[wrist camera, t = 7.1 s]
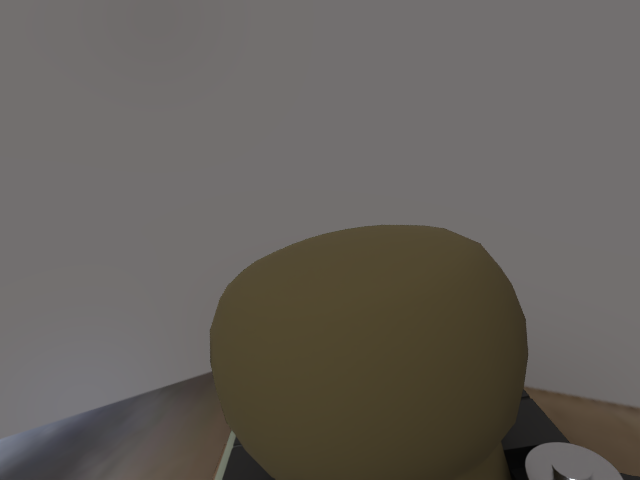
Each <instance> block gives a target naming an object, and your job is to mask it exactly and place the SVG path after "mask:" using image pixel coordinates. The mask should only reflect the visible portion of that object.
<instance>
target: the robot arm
mask: <svg viewBox="0 0 640 480" xmlns="http://www.w3.org/2000/svg"><path fill="white" fill-rule="evenodd" d="M501 443H502V447H503V451H504V455H505V458H506V461H507V464H508V468H509V472H510V475H511V479H512V480H640V477H638V476H631V475H627V474H623V473H619V472H618V471H617V470H616V468H615V467H614V466H613V465H612V464H611V463H609V462H608V461H607V460H606V459H604V458H603V457H601V456H600V455H598V454H597V453H595V452H593V451H591V450H589V449H586V448H584V447H581V446H577V445H574V444H571V443H570V442H569V441H568V440H567V439H566V438H565V436H564V435H563V434H562V433H561V432H560V431H559V430H558V428H557V427H556V426H555V425H554V424H553V423H552V421H551V420H550V419H549V418H548V417H547V416H546V415H545V413H544V412H543V411H542V410H541V409H540V408H539V406H538V405H537V404H536V403H535V402H534V401H533V399H530V397H529V395H528V394H527V393H526V391H525V390H524V389H523V392H522V397H521V401H520V405H519V409H518V414H517V418H516V422H515V424H514V425H513V426H512V427H511V429H510V430H509V431H508V433H507V434H506V435H505V436H504V438H503V439H502V440H501ZM222 480H275V478H273V477H271V476H270V475H269V474H268V473H267V472H266V471H265V470H264V469H263V468H262V467H261V466H260V465H259V464H258V463H257V462H256V461H255V460H254V459H253V458H252V457H251V455H250V454H249V453H248V452H247V451H246V450H245V449H244V447H243V446H242V444H241V443H240V441H239V440H238V438H237V437H235V440H234V444H233V448H232V450H231V453H230V456H229V459H228V462H227V465H226V469H225V472H224V475H223V478H222Z"/></svg>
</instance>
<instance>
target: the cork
mask: <svg viewBox="0 0 640 480" xmlns="http://www.w3.org/2000/svg"><path fill="white" fill-rule="evenodd" d="M210 358H211V359H210V362H211V368H212V373H213V377H214V382H215V387H216V390H217V393H218V397H219V400H220V403H221V406H222V409H223V413H224V416H225V419H226V422H227V423H228V425H229V426H230V428H231V429H232V431H233V432H234V434H235V435H236V437H237V438H238V440H239V441H240V443H241V444H242V446H243V447H244V449H245V450H246V451H247V452H248V453H249V454H250V455H251V457H252V458H253V459H254V460H255V461H256V462H257V463H258V464H259V465H260V466H261V467H262V468H263V469H264V470H265V471H266V472H267V473H268V474H269V475H270V476H271V477H273V478H275V480H512V479H511V475H510V472H509V468H508V464H507V461H506V458H505V455H504V451H503V447H502V443H501V440H502V439H503V438H504V436H505V435H506V434H507V433H508V431H509V430H510V429H511V427H512V426H513V425H514V424H515V422H516V418H517V414H518V409H519V405H520V401H521V397H522V392H523V388H524V381H525V374H526V367H527V360H528V346H527V332H526V319H525V316H524V314H523V311H522V309H521V306H520V304H519V301H518V299H517V296H516V294H515V291H514V289H513V286H512V284H511V283H510V281H509V279H508V278H507V276H506V275H505V274H504V272H503V271H502V269H501V268H500V266H499V265H498V264H497V263H496V262H495V261H494V259H493V258H492V257H491V256H490V255H489V253H488V252H487V251H486V250H485V249H484V248H483V246H482V245H481V244H480V243H478V242H475V241H473V240H471V239H468V238H466V237H464V236H461V235H459V234H457V233H454V232H452V231H449V230H447V229H444V228H437V227H430V226H417V225H377V226H365V227H358V228H351V229H345V230H340V231H335V232H331V233H326V234H322V235H319V236H315V237H312V238H309V239H305V240H303V241H300V242H297V243H295V244H292V245H290V246H287V247H285V248H283V249H280V250H278V251H276V252H273V253H272V254H269V255H267V256H265V257H263V258H261V259H259V260H257V261H256V262H254V263H253V264H251V265H250V266H249V267H247V268H246V269H244V270H243V271H242V272H241V273H240V274H239V275H238V276H237V277H236V278H235V279H234V280H233V281H232V282H231V283H230V284H229V285H228V286H227V287H226V289H225V291H224V293H223V294H222V296H221V298H220V300H219V304H218V307H217V310H216V313H215V316H214V319H213V323H212V326H211V329H210Z"/></svg>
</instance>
